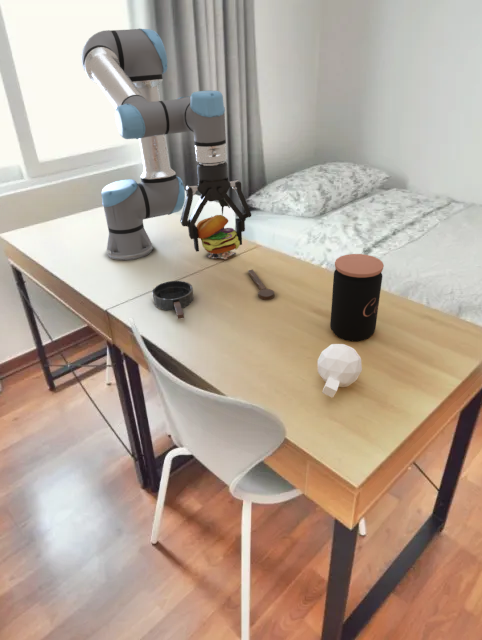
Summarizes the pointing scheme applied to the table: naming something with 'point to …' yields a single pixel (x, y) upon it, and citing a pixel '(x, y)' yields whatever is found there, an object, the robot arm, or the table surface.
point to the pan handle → (178, 310)
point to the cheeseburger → (217, 235)
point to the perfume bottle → (338, 367)
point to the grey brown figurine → (223, 203)
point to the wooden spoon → (261, 287)
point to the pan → (173, 294)
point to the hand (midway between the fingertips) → (218, 246)
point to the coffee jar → (355, 296)
